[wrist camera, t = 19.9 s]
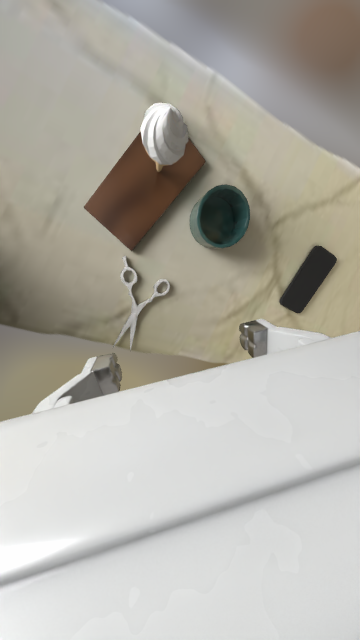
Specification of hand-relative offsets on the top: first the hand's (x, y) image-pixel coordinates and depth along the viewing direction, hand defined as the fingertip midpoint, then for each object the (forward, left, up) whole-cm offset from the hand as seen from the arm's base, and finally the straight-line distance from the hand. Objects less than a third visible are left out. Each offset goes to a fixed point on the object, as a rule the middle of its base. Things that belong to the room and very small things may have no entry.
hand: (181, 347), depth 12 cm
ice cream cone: (-12, +14, -28) cm, 34 cm away
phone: (+27, +24, -29) cm, 46 cm away
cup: (+1, +16, -29) cm, 33 cm away
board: (-12, +11, -29) cm, 33 cm away
